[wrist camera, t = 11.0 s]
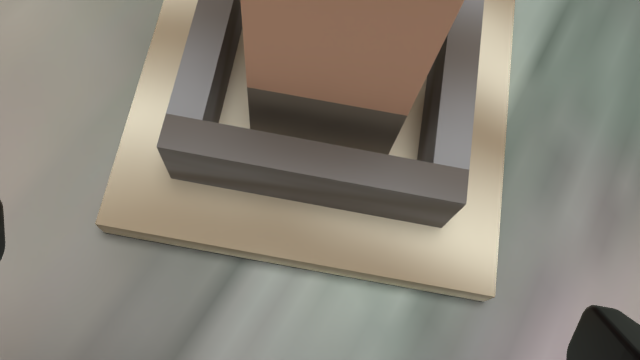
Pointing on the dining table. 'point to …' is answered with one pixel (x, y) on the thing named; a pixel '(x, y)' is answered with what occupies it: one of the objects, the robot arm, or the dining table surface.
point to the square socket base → (318, 162)
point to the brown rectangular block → (340, 66)
